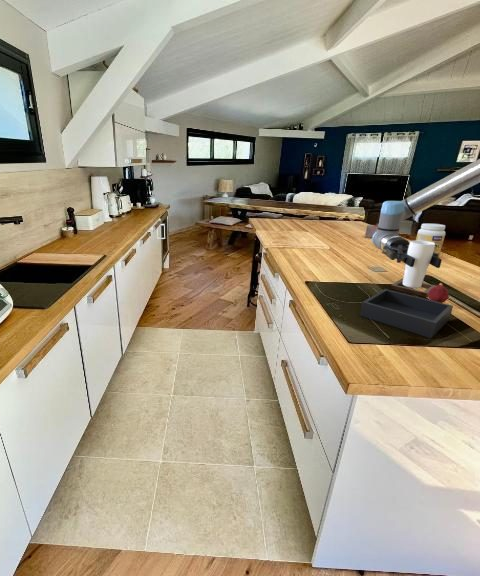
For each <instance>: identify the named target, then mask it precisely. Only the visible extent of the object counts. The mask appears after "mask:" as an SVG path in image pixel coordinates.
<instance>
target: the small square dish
mask: <svg viewBox="0 0 480 576" xmlns="http://www.w3.org/2000/svg"><path fill="white" fill-rule="evenodd" d="M403 279H404V277H403V278H402V277H401V278H400V279H398V280H397V281H395V282H394V283H392V284H390V286H389V287H390V290H394V291H398V292H399V291H400V292H402V293H406V294H407V293H408V294H411V295H414V296H418V297H423V298H427V297H428V292H429V290H430V289H431V288H433V287H435V286H437V285H435V284H430V283H426V282H422V286H421V287H420V288H424V289H425V290H424V291H423V290H419V289H416V288H409V287H406V286H403Z"/></svg>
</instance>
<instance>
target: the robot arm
mask: <svg viewBox="0 0 480 576" xmlns="http://www.w3.org/2000/svg"><path fill="white" fill-rule="evenodd" d="M479 183H480V158H478V159H477V160H474V161H473V162H471V163H469V164H467V165H466V166H463V167H461V168H460V169H458V170H456V171H455V172H452V173H451V174H449V175H447V176H445V177H444V178H442V179H440V180H438V181H436V182H434V183H432V184H430V185H428V186H427V187H425V188H423V189H421V190H419V191H417V192H416V193H414V194H412V195H410V196H408V197H406V198H404V199H403V200H386V201H384V202H383V203H382V205H381V209H380V215H379V219H378V220H379V221H378V224H379V225H378V229H377V232H375V234H374V235H373V237H372V238H371V242H372V245H374V246H375V248H377V249H378V250H381V254H383V255H385V256H386V257H387V258H388V259H389V260H391V261H395V260H396V263H398V264H401V263H403V264H405V265H406V264H407V265H408V266H410V267H413V266H414V262H415V258H413V257H411V256H409V255H408V254H407V251H408V247H409V244H410V241H409V240H408V239H406V238H404V237H402V236H400V235H399V233H400V228H401V224H402V222H403V221H405V220H407V219H409V218H411V217H413V216H415V215H416V214H419V213H421V212H423V211H425V210H427V209H428V208H429V209H430V207H433V206H435V205H437V204H439V203H441V202H443V201H445V200H447V199H449V198H451V197H453V196H455V195H457V194H460V193H461V192H463V191H466V190H467V189H469V188H472V187H473V186H475V185H478V184H479ZM439 257H440V255H439V254H437V253H435V252H433V255H432V258H431V261H430V263H429V265H431V266H432V267H434V268H436V269H440V268H441V264H442V261H443V258H442V259H441V258H439Z"/></svg>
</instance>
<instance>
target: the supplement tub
mask: <svg viewBox="0 0 480 576" xmlns="http://www.w3.org/2000/svg"><path fill="white" fill-rule="evenodd" d="M445 229H446V225H445V224H440V223H422V224H421V226H420V229H418V231H417V234H416V238H415V240H421V241H429V242H433V243H435V247H434V252H435V253H437V254H439V256H440V255H441V252H442V248H443V244H444V240H445V236H446V231H445Z"/></svg>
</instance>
